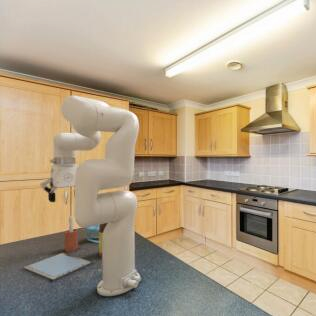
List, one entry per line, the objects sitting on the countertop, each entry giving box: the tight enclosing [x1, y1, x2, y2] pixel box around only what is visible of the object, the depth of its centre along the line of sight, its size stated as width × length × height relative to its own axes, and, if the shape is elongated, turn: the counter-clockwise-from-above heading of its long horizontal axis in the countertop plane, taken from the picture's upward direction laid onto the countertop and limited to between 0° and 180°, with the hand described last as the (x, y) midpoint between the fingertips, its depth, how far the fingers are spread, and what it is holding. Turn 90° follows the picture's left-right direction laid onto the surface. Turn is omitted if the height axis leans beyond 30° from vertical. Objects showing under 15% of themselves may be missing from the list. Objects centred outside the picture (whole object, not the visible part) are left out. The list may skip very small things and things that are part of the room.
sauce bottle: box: [98, 223, 108, 258], centre depth 93 cm, size 7×6×20 cm
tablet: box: [23, 252, 92, 282], centre depth 83 cm, size 20×13×1 cm, turn 66°
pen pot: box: [64, 228, 79, 253], centre depth 97 cm, size 5×5×9 cm
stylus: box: [68, 216, 74, 232], centre depth 97 cm, size 1×1×15 cm
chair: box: [85, 225, 100, 244], centre depth 108 cm, size 8×8×12 cm
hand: (65, 199), depth 95 cm, fingers open, 9 cm apart
